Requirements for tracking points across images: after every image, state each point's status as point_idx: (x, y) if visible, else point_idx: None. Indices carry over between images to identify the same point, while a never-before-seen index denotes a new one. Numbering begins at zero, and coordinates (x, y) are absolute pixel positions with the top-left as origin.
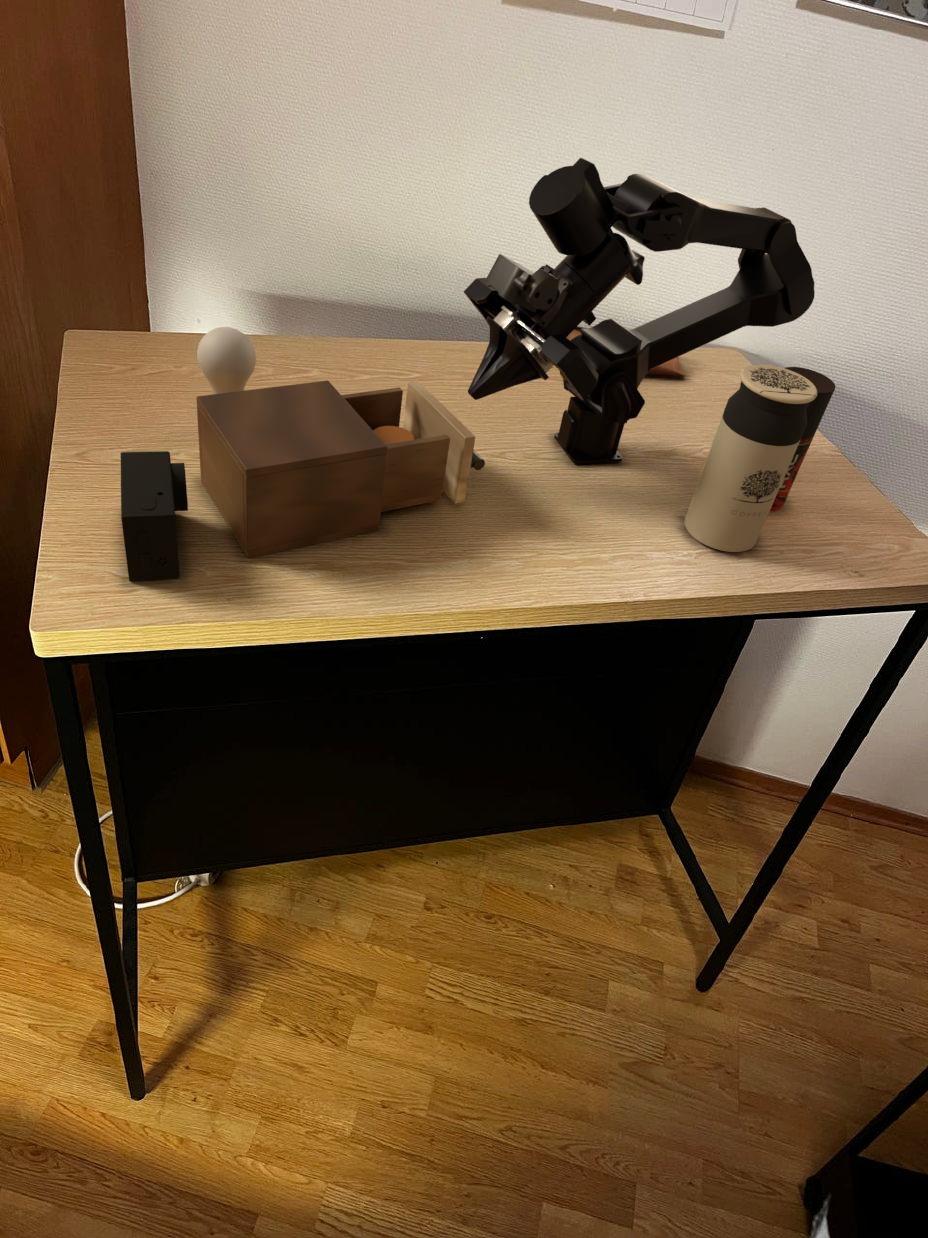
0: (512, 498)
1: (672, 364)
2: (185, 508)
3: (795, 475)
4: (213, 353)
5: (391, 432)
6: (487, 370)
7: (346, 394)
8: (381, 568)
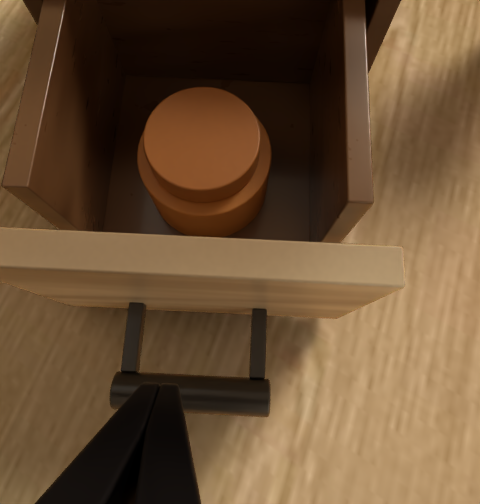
0: (56, 451)
1: None
2: None
3: None
4: None
5: (220, 141)
6: (107, 498)
7: (364, 30)
8: (3, 80)
